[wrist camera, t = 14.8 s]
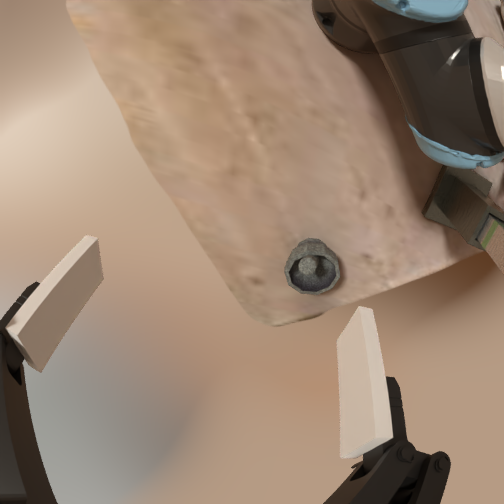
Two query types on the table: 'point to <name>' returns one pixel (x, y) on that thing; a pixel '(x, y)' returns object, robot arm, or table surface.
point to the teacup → (502, 9)
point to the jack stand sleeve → (462, 202)
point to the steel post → (493, 239)
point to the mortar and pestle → (312, 267)
